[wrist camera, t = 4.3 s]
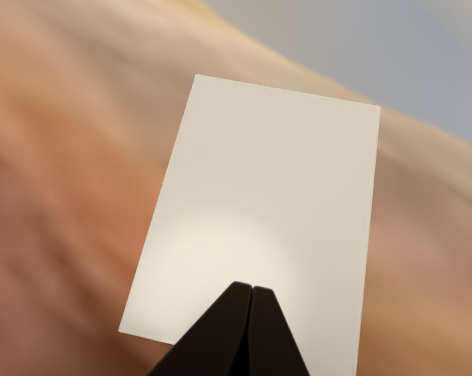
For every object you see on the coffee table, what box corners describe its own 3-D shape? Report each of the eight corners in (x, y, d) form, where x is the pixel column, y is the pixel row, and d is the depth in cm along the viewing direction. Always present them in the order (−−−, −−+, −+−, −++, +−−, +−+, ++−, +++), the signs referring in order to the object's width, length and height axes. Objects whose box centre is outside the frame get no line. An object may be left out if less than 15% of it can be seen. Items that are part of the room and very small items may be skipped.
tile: (354, 388, 12) (380, 106, 16) (117, 331, 13) (196, 73, 17) (337, 376, 15) (364, 130, 18) (135, 327, 15) (200, 100, 19)
